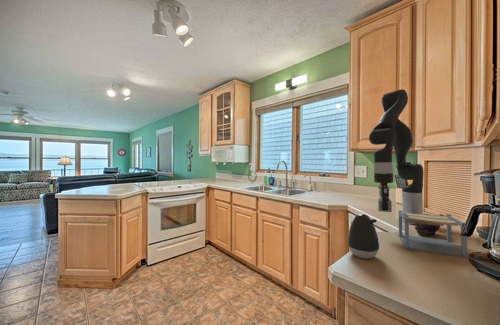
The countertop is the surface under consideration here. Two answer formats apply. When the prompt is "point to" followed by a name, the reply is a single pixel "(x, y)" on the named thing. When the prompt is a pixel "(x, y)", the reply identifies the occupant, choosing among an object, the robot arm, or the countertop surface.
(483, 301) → the countertop surface
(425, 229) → the rock
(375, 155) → the robot arm
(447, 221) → the trapdoor
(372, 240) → the penguin figurine
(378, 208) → the basalt cube
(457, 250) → the trapdoor frame
